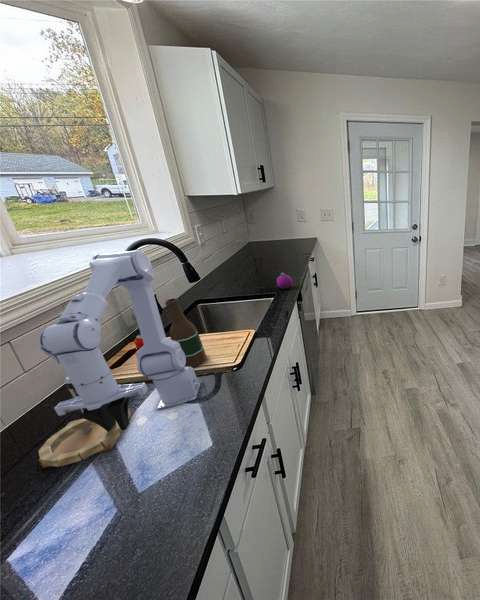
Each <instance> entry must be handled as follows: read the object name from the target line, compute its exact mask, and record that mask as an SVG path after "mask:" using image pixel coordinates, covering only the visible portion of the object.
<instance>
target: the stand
mask: <svg viewBox="0 0 480 600" xmlns="http://www.w3.org/2000/svg"><path fill="white" fill-rule="evenodd" d="M131 417H132V411H131V410H130V406H128V418H129V419H130V418H131ZM81 419H83V418H82V417H81V418H80V419H74V420H72V421H69V422H68V423H67V424H66V426H69V425H70V424H72V423H74V422H76V421H78V420H81ZM106 433H107V431H106V430H105V429H104V428H102V427H101V426H99V425H98V424H92V425H90V426H88V427H86V428H84V429H81V430H79V431H77V432H75V433H74V434H72V435H71V436H70V437H68V438H67V439H65V440H64V441H63V442H61V443H60V445H59V446H58V447H57V448H56V450H55V451H54V453H58V454H64V453H68V452H71V451H75V450H79V449H81V448H83V447H85V446H87V445H89V444H91V443H93V442H95V441H97V440H98V439H100V438H101V437H102V436H104V435H105V434H106ZM118 439H119V437H118V438H117V439H116V440H114V441H113V442H112V443H111V444H110V445H108V446H107V447H104V449H102V450H101V451H99V452H97V453H96V454H98V453H102V452H105V451H108V450H112V449H113V448H114V446H115V444H116V442H117V441H118ZM38 462H39V464H40V465H41V466H42V468H43V469H45V468H48V467H49V468H50V466H45V465H44V464H43V463H42V461H41V460H40V458H39V459H38Z"/></svg>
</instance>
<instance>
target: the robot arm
mask: <svg viewBox="0 0 480 600" xmlns="http://www.w3.org/2000/svg"><path fill="white" fill-rule="evenodd" d="M90 260H91V261H89V268H90V270H91V275H90V277H89V279H88V281H87V284H86V287H85V288H84V291H83V292H82V293H78V294H77V293H76V294H75V295H72V297H70V299H69V302H68V303H67V305H66V306H65V308H64V310H63V311H62V312H61V314H60V316H59V318H58V319H57V320H56V322H55V324H51V325H49V326H47V327H45V329H43V330H42V331H41V332H40V335H39V339H38V340H39V345H40V346H39V349H40V351H41V352H42V353H43V354H45V355H46V356H48V357H50V358H52V359H53V361H54V363H55V364H57V365H61V367H62V369H63V371H64V372H65V374H66V377H67V376H68V377H69V379H70V381H71V383H72V384H73V386H74V388H75V389H76V391H77V393H78V395H79V396H78V397H76V398H74V397H72V398H70V399H67V400H63V401H60V402H59V403H58V404H57V405H56V406H54V407H53V409H54V411H55V413H56V414H57V416H59V417H60V416H65V415H66V414H67V413H69V412H73V411H77V410H81V409H82V408H83V410H84V411H83V413H82V414H81V419H82V418H83V419H86V420H89V421H92V422H94V423H96V424H98V425H99V426H101V427H102V428H104V429H105V430H106V431H107V432H109V431H110V430H111V429H112V427H113V425H114V424H115V422H117V424H118V425H119V427H120V428H121V429H122V431H123V430H124V431H126V430H127V429H128V427H129V426H130V418H128V407H129V405H130V404H129V403H130V399H131V398H130V397H135V396H140V397H141V396H145V395H146V394H147V392H148V390H149V388H148V386H147V384H146V382H140V383H129V384H118V382H117V381H116V379H115V377H114V375H113V373H112V370H111V368H110V367H109V365H108V363H107V360H106V359H105V357H104V355H103V353H102V351H101V349H100V347H99V344H100V343H101V340H102V339H101V338H102V335H101V330H102V324H101V322H102V320H103V318H104V316H105V314H106V312H107V311H108V308H109V303H108V301H107V300H106V299H107V297H108V295H109V294H110V293H111V292H112V290H113V288H114V287H115V285H120V286H122V287H123V288H125V289H127V293H128V296H129V298H130V299H129V300H130V302H131V306H132V309H133V312H134V315H135V319H136V322H137V326H138V329H139V334H141V336H142V339H143V343H144V346H143V347H141V348H140V349H139V350H138V349H137V352H136V353H135V355H136V361H137V363H136V368H137V371H138V373H139V374H140V375H141V376H142V377H147V378H148V380H152V383H153V385H154V387H155V389H156V391H157V394H158V396H159V398H160V401H159V403H158V405H157V407H156V408H157V410H161V409H165V408H168V407H169V408H170V407H172V406H176V405H179V404H184V403H187V402H191V401H194V400H196V398H197V396H198V393H199V390H200V387H201V383H200V382H199V380H198V377H197V374H196V372H195V369H194V367H184V366H185V363H186V357H185V354H184V352H183V351H182V349H181V346H180V344H179V343H178V342H175V341H172V340H171V339H170V338H167V337H166V336H167V335H166V333H165V330H164V326H163V325H164V324H163V322H162V318H161V315H160V311H159V308H158V307H159V306H158V305H157V304H158V303H157V301H156V297H155V293H154V289H153V286H152V283H151V282H152V281H154V280H155V273H154V270H153V266H152V265H153V264H152V262H151V259H150V257H149V256H148V255H147V254H146V253H145V252H144V251H142V250H141V249H135V250H129V251H120V252H111V253H110V252H109V253H96V254H94V255H93V256H92V258H91V259H90ZM115 420H116V421H115ZM124 431H123V432H124Z"/></svg>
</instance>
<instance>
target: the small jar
mask: <svg viewBox="0 0 480 600" xmlns="http://www.w3.org/2000/svg"><path fill="white" fill-rule="evenodd" d="M64 385H66V387H67V389H68V391H69V392H70V395H71V396H72V398H76V397H78V396H79V395H78V393H77V391H76V389H75V388H74V386H73V384H72V383H71V381H70V379H69V377H68V376H67V375H66V376H65V377H64ZM80 411H81V413H82V414H83V411H84V410H83V408H82V409H80Z"/></svg>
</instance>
